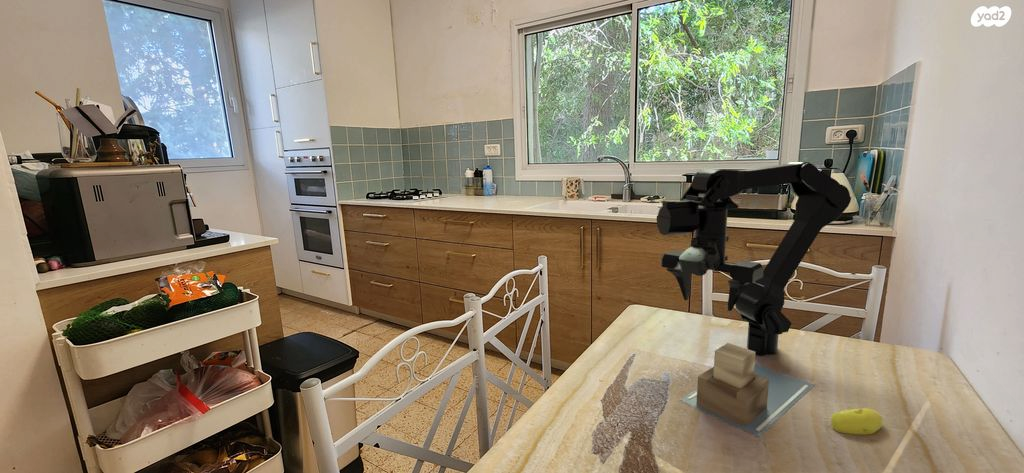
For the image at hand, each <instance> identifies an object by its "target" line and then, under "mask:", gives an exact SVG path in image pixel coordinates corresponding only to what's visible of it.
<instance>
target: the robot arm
mask: <svg viewBox="0 0 1024 473" xmlns="http://www.w3.org/2000/svg"><path fill="white" fill-rule="evenodd" d="M786 184H788V185H789V187H790V190H791V192H792V193H793V194H794V195H795V196H796V197H797V201H796V203H795V219H794V221H793V222H792V224H791V225H790V227H789V229H788V230H787V232H786V234H785V235H784V237H783V238H782V240H781V241H780V243H779V245H778V246H777V248H776V250H775V251H774V253H773V254H772V256H771V257H770V259H769V261H768V262H767V264H766V266H765V268H764V267H763V265H762V263H761V262H756V261H748V260H744V259H743V260H740V261H738V262H735V263H730V262H729V263H728V262H727V261H728V257H729V256H728V255H726V246H727V245H726V244H727V242H729V240H730V239H729V238H730V237H729V236H730V235H727V224H728V210H736V209H739V205H738V204H737V203H736V202H735V201H733V199H732V198H731V197H734V196H737V195H739V194H740V193H742V192H743V191H747V190H751V189H757V188H758V189H759V188H765V187H773V186H779V185H786ZM850 194H851V193H850V190H849V189H848V188H847V186H846V185H844V184H841V183H840V182H838V180H836V179H835V178H833V177H832V176H829V175H828V174H826V173H824V172H822V171H821V170H819V169H818V168H817V167H816V165H814V164H813V163H811V162H809V161H791V162H788V163H783V164H782V163H781V164H775V165H769V166H767V165H766V166H762V167H754V168H752V167H751V168H745V169H739V170H738V169H737V170H735V169H734V170H733V169H721V168H720V169H717V168H716V169H715V168H703V169H699V170H697V172H696V173H695V174H694V176H693V178H692V182H691V184H690V185H689V186H688V188H687V189H686V191H685V193H684V194H683V195H682V196H681V198H680V200H669V199H668V200H662V202H661V203H662V204H661V207H660V208H659V210H658V214H657V215H656V226H657V229H658V230H657V231H658V232H659V233H660V234H661V235H662V236H669V235H672V236H673V235H682V234H686V235H687V234H692V233H693V232H694V236H692V237H691V241H690V246H689V247H687V248H686V249H685V250H684V251H681V250H672V251H669V252H667V253H663V255H662V256H661V258H660V267H661V268H664V269H666V271H667V272H668V273H671V274H672V275H673V276H674V277H675V280H676V282H677V283H678V286H679V288H680V289H679V290H680V291H681V294H682V297H683V301H688V300H689V299H690V295H691V294H690V293H691V285H692V284H691V281H692V275H695V276H698V277H702V276H704V275H706V274H707V272H708V271H715V272H721V273H727V274H729V276H730V278H731V279H728V280H727V282H728V285H729V293H728V300H727V310H728V311H729V312H731V311H732V310H733V309H734V307H735V309H736V310H737V311H736V312H738V313H739V316H740V318H741V320H742V321H743V320H744V321H746V322H747V324H748V326H747V327H748V328H747V329H748V330H747V339H746V349H749V350H752V351H755V356H759V357H762V356H773V355H777V353H778V346H779V335H782V334H784V333H788V332H789V331H790V329H791V328H790V327H791V326H792V322H791V321H790V319H789V318H788V317H787V316H785V315H784V313H782V310H783V307H784V305H785V289H786V286H787V284H788V283H789V282H790V279H792V276H793V275H794V274H795V271H796V270H797V269H798V266H799V265H800V264H801V263H802V261H803V259H804V257H805V255H806V254H807V253H808V251H809V249H810V248H811V246H812V245H813V243H814V242H815V239H817V236H818V235H819V234H820V232H821V230H822V229H823V228H825V227H826V226H828V225H829V224H832V223H834V222H835V221H836V220H838V219H839V217H840V216H841V215H843V213H844V212H845V211H846V210H847V208H848V207H849V205H850V203H851V201H852V197H851V195H850Z"/></svg>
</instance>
